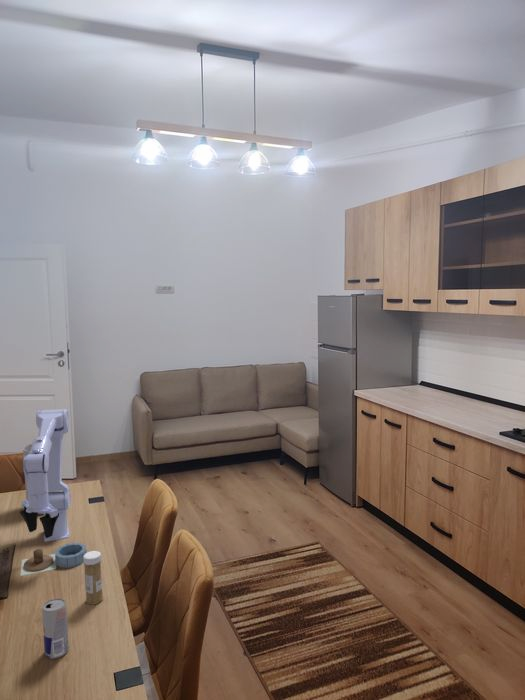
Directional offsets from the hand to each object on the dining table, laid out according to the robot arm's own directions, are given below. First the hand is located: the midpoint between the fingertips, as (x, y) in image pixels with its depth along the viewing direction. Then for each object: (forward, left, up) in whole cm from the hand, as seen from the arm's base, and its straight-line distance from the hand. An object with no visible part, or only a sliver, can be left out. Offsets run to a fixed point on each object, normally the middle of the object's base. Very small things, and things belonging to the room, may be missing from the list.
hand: (40, 533), depth 163 cm
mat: (0, -1, -10) cm, 10 cm away
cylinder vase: (-45, 0, -10) cm, 46 cm away
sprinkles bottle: (+26, +13, -10) cm, 31 cm away
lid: (0, -1, -10) cm, 10 cm away
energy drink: (+44, +3, -10) cm, 45 cm away
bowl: (+1, +8, -10) cm, 13 cm away
